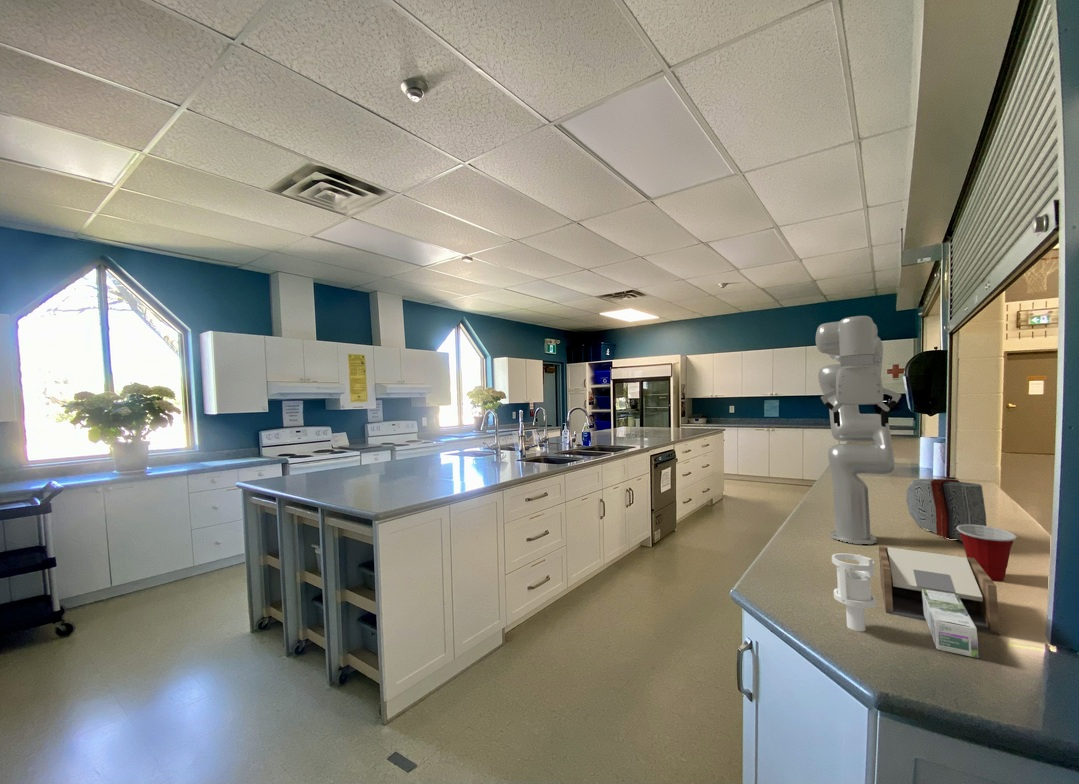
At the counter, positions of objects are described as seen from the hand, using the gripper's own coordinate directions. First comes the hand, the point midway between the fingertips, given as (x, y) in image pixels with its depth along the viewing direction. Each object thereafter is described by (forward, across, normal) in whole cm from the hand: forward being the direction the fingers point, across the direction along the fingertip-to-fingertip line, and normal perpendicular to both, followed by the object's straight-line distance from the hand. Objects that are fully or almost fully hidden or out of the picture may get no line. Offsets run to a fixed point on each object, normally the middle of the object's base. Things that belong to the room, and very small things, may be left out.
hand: (860, 426), depth 115 cm
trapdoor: (+32, -11, +15) cm, 37 cm away
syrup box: (+35, -11, +22) cm, 43 cm away
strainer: (+39, +4, +35) cm, 52 cm away
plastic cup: (+40, -25, -13) cm, 49 cm away
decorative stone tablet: (+41, -23, -53) cm, 70 cm away
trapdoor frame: (+39, -11, +15) cm, 43 cm away
